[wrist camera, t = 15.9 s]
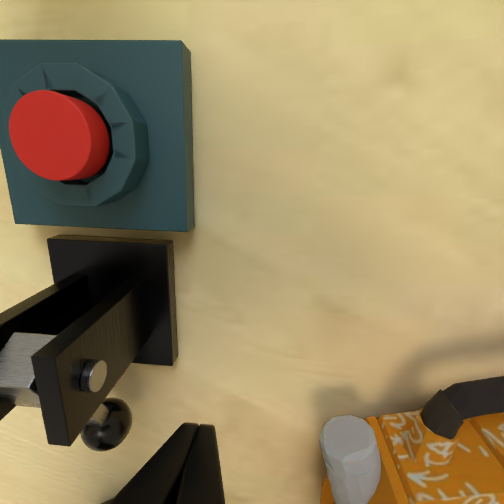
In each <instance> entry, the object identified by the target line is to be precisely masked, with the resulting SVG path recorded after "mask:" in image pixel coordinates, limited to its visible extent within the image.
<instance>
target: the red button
mask: <svg viewBox="0 0 504 504" xmlns="http://www.w3.org/2000/svg"><path fill="white" fill-rule="evenodd" d="M9 133H10V139H11V143H12V145H13V148H14V150H15V152H16V154H17V156H18V157H19V159H20V160H21V161H22V163H23V164H24V165H25V166H26V167H27V168H28V169H30V170H31V171H32V172H34V173H35V174H37V175H39V176H40V177H43V178H45V179H49V180H54V181H64V180H76V179H84V178H88V177H91V176H93V175H95V174H96V173H97V172H99V171H100V170H101V169H102V167H103V166H104V164H105V163H106V161H107V158H108V155H109V149H110V140H109V134H108V131H107V128H106V126H105V124H104V122H103V120H102V118H101V117H100V115H99V114H98V113H97V112H96V111H95V110H94V109H93V108H92V107H91V106H90V105H88V104H87V103H85V102H83V101H81V100H79V99H76V98H73V97H70V96H67V95H63V94H60V93H57V92H54V91H50V90H37V91H33V92H30V93H28V94H26V95H24V96H23V97H22V98H21V99H19V100H18V102H17V103H16V104H15V106H14V108H13V110H12V112H11V116H10V120H9Z"/></svg>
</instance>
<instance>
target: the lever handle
mask: <svg viewBox="0 0 504 504" xmlns="http://www.w3.org/2000/svg"><path fill="white" fill-rule="evenodd" d="M56 336H57V335H47V334H33V333H20V332H14V333H13V334H12V336H11V337H10V339H9V340H8V342H7V343H6V345H5V346H4V348H3V349H2V351H1V352H0V396H1V397H3V398H5V399H6V400H8V401H10V402H12V403H14V404H15V405H17V406H27V407H38V408H41V405H40V400H39V396H38V391H37V386H36V381H35V376H34V371H33V366H32V361H31V356H32V355H33V354H34V353H35V352H37V351H38V350H39V349H41V348H42V347H43V346H44V345H46V344H47V343H48V342H49V341H51V340H52V339H53V338H55V337H56ZM131 425H132V413H131V410H130V408H129V406H128V405H127V404H126V403H125V402H124V401H123V400H121V399H118V398H105V399H104V401H103V402H102V403H101V405H100V406H99V407H98V409H97V410H96V412H95V413H94V414H93V416H92V417H91V418H90V420H89V421H88V423H87V424H86V425H85V427H84V428H83V429H82V431H81V432H80V434H81V438H82V440H83V442H84V444H85V445H86V446H87V447H88V448H90V449H92V450H94V451H107V450H111V449H113V448H115V447H116V446H118V445H119V444H120V443H121V442H122V441H123V440H124V439H125V438H126V436H127V435H128V433H129V431H130V428H131Z"/></svg>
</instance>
